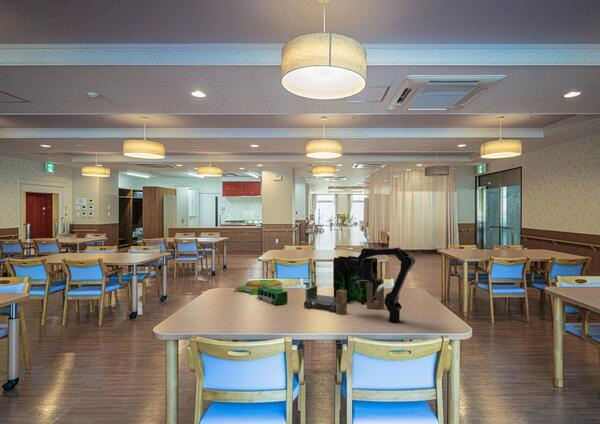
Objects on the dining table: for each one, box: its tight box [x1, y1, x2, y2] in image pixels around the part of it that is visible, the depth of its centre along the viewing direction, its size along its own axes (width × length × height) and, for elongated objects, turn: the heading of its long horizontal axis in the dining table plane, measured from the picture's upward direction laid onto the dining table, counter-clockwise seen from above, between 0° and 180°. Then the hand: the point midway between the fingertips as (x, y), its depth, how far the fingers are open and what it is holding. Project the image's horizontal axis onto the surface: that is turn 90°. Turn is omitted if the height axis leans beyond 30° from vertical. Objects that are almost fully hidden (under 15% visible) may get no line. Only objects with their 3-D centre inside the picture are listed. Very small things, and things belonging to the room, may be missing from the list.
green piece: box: [233, 279, 283, 296], centre depth 287 cm, size 29×38×7 cm
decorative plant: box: [333, 255, 378, 305], centre depth 259 cm, size 29×30×30 cm
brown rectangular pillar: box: [335, 290, 348, 316], centre depth 222 cm, size 5×5×14 cm
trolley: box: [303, 285, 336, 313], centre depth 236 cm, size 23×17×12 cm
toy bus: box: [257, 285, 288, 306], centre depth 253 cm, size 11×27×10 cm, turn 31°
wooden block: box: [366, 280, 385, 310], centre depth 234 cm, size 4×11×18 cm, turn 84°
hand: (367, 294), depth 216 cm, fingers open, 9 cm apart
